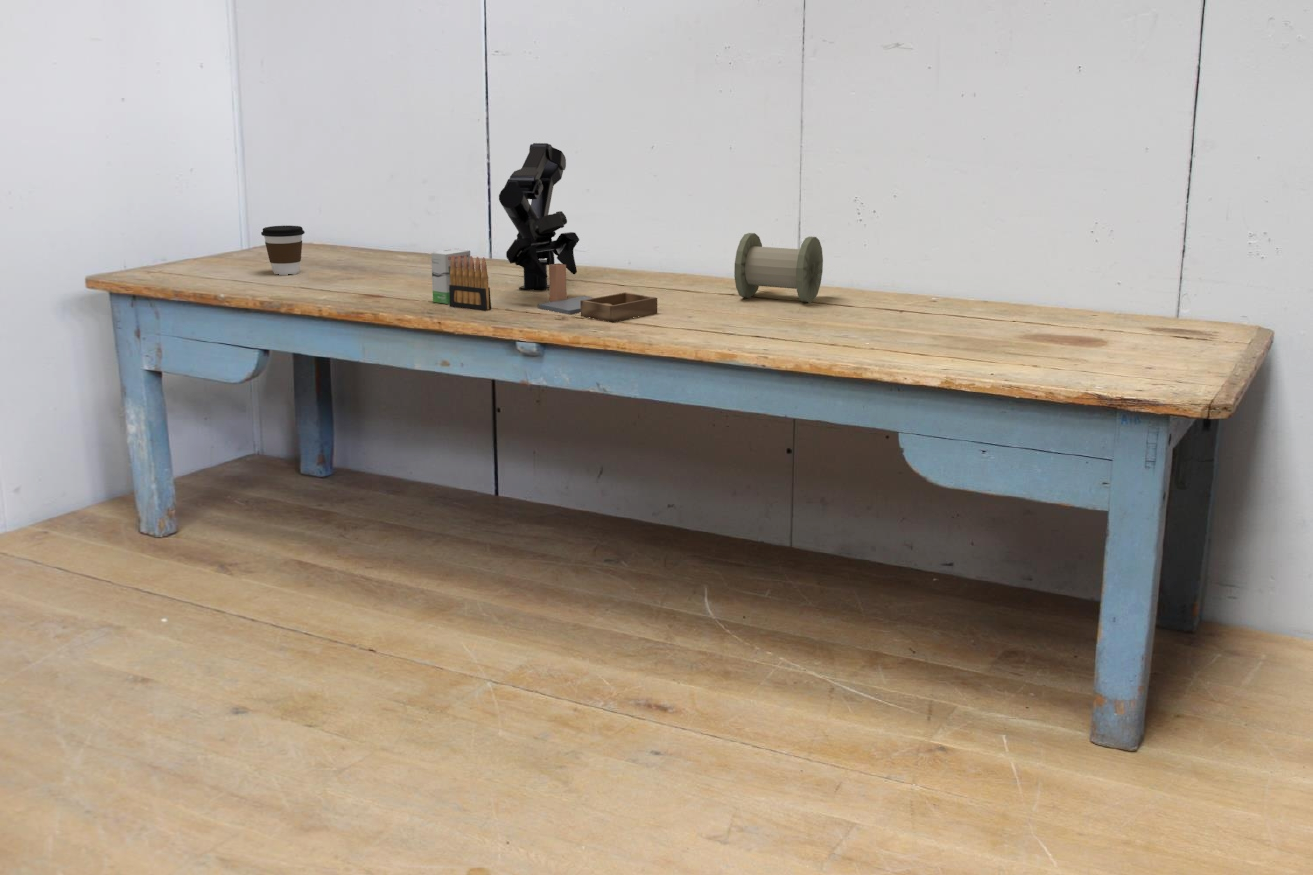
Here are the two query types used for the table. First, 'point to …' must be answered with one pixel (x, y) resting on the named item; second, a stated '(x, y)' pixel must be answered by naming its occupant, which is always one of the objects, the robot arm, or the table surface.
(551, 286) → the lid
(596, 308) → the tub
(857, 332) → the table surface
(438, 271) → the ink box
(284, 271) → the coffee cup
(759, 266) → the spool
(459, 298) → the ammunition clip
